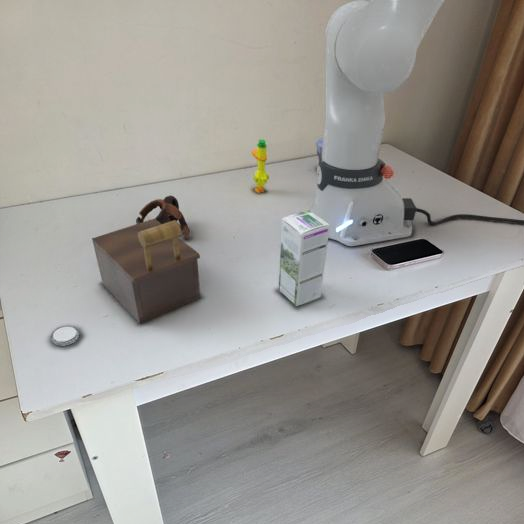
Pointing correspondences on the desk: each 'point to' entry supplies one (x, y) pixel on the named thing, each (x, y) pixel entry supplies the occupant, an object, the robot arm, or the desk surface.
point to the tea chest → (150, 288)
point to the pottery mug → (166, 213)
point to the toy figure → (260, 166)
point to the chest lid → (146, 249)
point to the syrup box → (302, 257)
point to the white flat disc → (65, 335)
